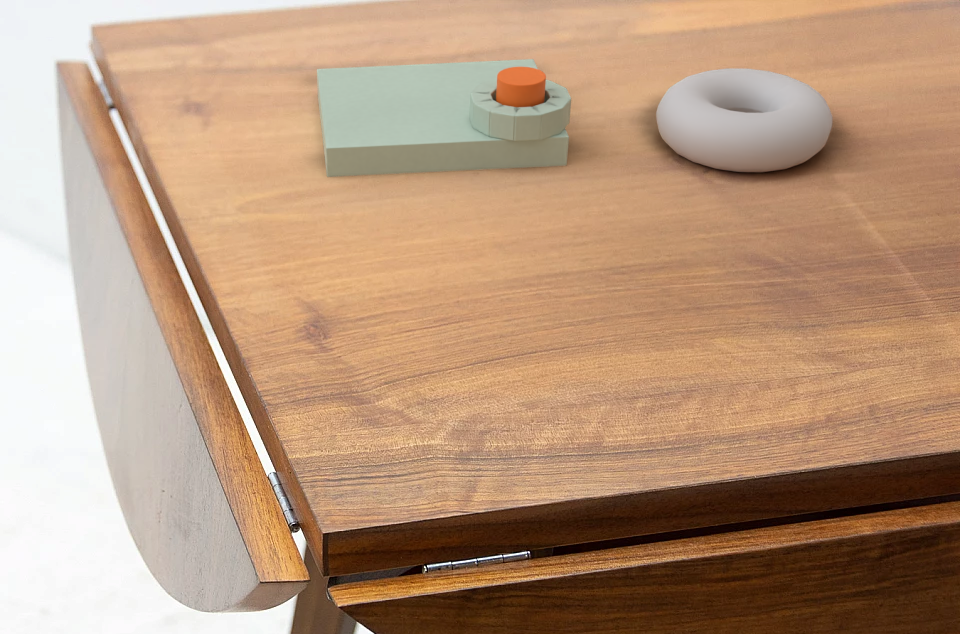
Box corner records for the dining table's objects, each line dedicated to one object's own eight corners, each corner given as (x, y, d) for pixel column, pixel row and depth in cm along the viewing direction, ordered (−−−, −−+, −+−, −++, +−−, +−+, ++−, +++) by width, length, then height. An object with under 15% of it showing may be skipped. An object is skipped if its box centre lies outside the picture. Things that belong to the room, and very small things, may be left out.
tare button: (539, 90, 82) (541, 65, 81) (548, 109, 80) (550, 83, 79) (492, 92, 82) (493, 67, 81) (499, 111, 80) (501, 86, 79)
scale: (537, 86, 91) (540, 34, 88) (573, 169, 81) (578, 112, 78) (317, 96, 90) (316, 44, 88) (327, 180, 80) (325, 124, 78)
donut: (618, 146, 83) (758, 199, 77) (623, 91, 81) (766, 140, 75) (722, 100, 88) (862, 146, 82) (729, 47, 86) (873, 90, 80)
